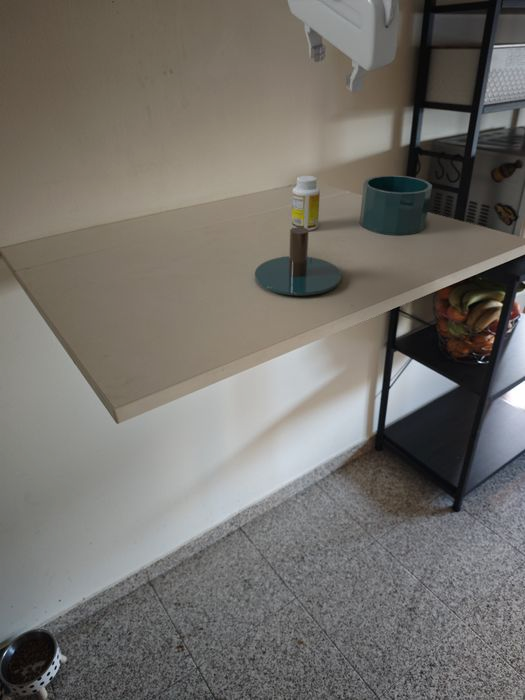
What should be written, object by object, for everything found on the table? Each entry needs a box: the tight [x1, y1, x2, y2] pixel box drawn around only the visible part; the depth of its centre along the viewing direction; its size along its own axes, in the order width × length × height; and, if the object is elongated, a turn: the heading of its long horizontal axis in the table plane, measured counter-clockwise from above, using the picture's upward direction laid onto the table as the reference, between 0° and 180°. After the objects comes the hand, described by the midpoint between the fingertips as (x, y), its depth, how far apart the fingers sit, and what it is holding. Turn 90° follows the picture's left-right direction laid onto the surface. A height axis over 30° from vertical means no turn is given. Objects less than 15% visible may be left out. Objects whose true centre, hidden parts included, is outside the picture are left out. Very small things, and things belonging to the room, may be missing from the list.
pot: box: [359, 174, 433, 236], centre depth 105 cm, size 14×14×8 cm
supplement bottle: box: [291, 175, 321, 232], centre depth 103 cm, size 6×6×10 cm
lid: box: [254, 227, 342, 296], centre depth 83 cm, size 15×15×9 cm
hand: (334, 73), depth 68 cm, fingers open, 8 cm apart
